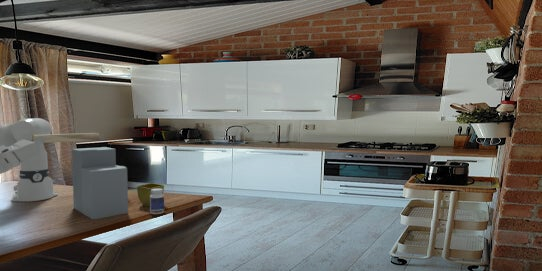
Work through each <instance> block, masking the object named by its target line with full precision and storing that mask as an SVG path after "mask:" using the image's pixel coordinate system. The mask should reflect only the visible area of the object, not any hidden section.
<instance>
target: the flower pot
mask: <svg viewBox="0 0 542 271" xmlns="http://www.w3.org/2000/svg"><path fill="white" fill-rule="evenodd" d="M158 188H159V189H163V192H162V194H163V195H164V190H165V185H164V184H161V183H160V184H159V183H152V182H150V183H144V184H141V185H137V186H136V190H137V196H138V200H139V202H140V203H141V205H142V206H147V207H150V195H151V194H152V193H151V190H152V189H158Z"/></svg>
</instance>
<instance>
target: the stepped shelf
mask: <svg viewBox="0 0 542 271" xmlns="http://www.w3.org/2000/svg"><path fill="white" fill-rule="evenodd" d="M116 154H117V153H116V148H111V147H107V146H101V147H85V148H71V156H72V158H71V160H72V163H71V164H72V191H73V194H72V195H73V209H75V210H76V211H77V212H79V213H82V214H83V215H84V216H85V217H86V216H87V217H88V218H89V219H91V220H98V219H104V218H107V217H114V216H119V215H120V216H121V215H124V214H128V213H129V195H128V191H129V190H128V188H129V186H128V167H122V166H123V165H117V162H116V161H117V160H116V158H117V157H116V156H117V155H116Z"/></svg>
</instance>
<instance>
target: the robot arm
mask: <svg viewBox="0 0 542 271" xmlns="http://www.w3.org/2000/svg"><path fill="white" fill-rule="evenodd" d="M52 132H53V127H52V125H51V123H50V122H49V121H47V120H46V119H43V118H39V117H38V118H37V117H33V118H31V117H30V118H22V119H20V120H18V121H16V122H13V123H8V124H7V123H6V124H1V125H0V175H1V174H4V173H6V172H8V171H10V170H12V169H13V168H16V167H17V168H18V166H20V170H19V174H18V175H19V180H18V181H17V183H16V184H15V185H14V186H13V191H15V192H14V193H13V194H12V197H11V202H36V201H43V200H48V199H51V198H53V197H57V196H58V193H57V192H55V189H54V181H53V179H52V178H51V177H50V169H49V168H48V167H49V165H48V162H49V161H48V152H47V150H46V148H45V143H42V142H44V141H46V139H45V137H40V138H39V139H37V140H36V141H33V142H32V135H49V134H52Z"/></svg>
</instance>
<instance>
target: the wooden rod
mask: <svg viewBox="0 0 542 271" xmlns="http://www.w3.org/2000/svg"><path fill="white" fill-rule="evenodd" d="M40 137H45V139H46V141H44V142H42V143H43V144H49V143H51V144H52V143H67V142H71V143H72V142H87V141H89V142H90V141H92V142H93V141H100V133H98V132H87V133H86V132H85V133H59V134H57V133H54V134H52V133H51V134H49V135H32V142H33V141H36V140H37V139H39V138H40Z"/></svg>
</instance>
